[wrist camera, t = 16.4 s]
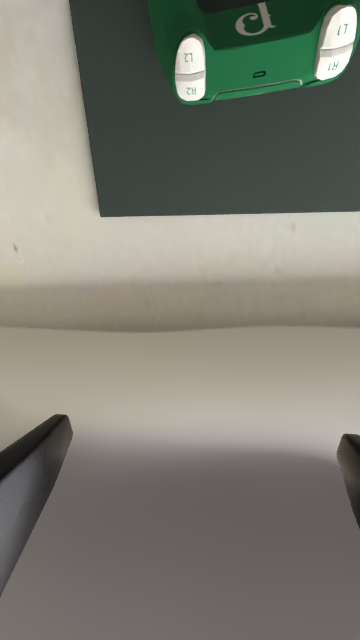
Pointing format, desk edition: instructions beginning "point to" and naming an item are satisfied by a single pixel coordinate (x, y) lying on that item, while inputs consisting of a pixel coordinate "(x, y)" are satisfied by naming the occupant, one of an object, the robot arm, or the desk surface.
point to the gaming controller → (252, 46)
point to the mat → (208, 130)
